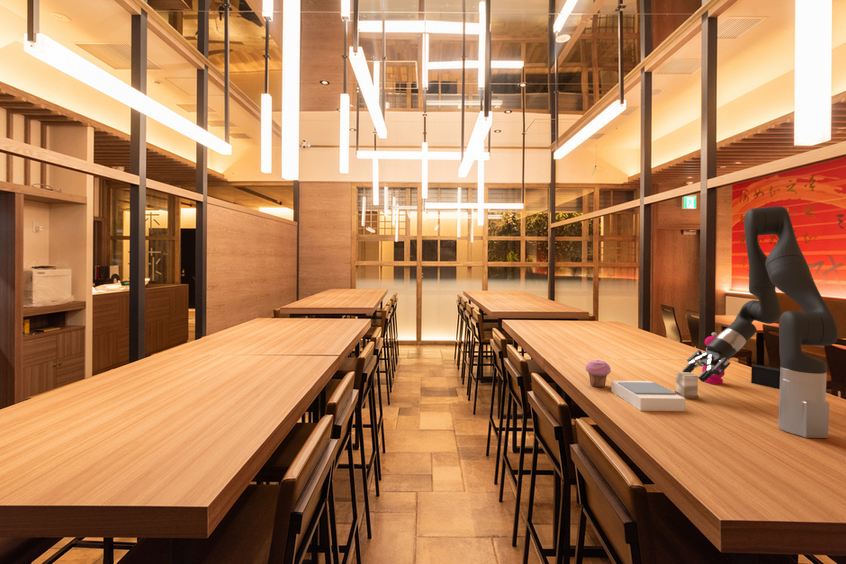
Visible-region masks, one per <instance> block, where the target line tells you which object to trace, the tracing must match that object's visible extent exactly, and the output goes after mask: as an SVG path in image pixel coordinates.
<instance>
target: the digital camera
mask: <svg viewBox="0 0 846 564" xmlns="http://www.w3.org/2000/svg"><path fill="white" fill-rule="evenodd" d="M750 376H751V377H750V379H751V380H750V383H751V384H754V385H757V386H759V385H760V386H762V387H768V388H772V389H776V390H780V368H776V367H772V366H768V365H767V366H766V365H761V364H756V365H751V373H750Z"/></svg>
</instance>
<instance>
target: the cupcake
mask: <svg viewBox="0 0 846 564" xmlns="http://www.w3.org/2000/svg"><path fill="white" fill-rule="evenodd" d="M584 368H585V371H586V373H588V376H589V383H590V384H589V385H591V387H596V388H597V387H598V388H606V383H607V376H608V375H609V374H610V373H611V372H612V370H611V369H612V368H611V366H610V364H609V363H607V362H606V361H605V360H600V359H593V360H590V361H588V362H587V363H586V365H585V367H584Z"/></svg>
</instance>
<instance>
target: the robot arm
mask: <svg viewBox="0 0 846 564" xmlns="http://www.w3.org/2000/svg"><path fill="white" fill-rule="evenodd" d="M745 212H746V213H745V214H744V219H743V228H744V229H743V230H744V231H743V232H744V237H745V246H746V247H745V248H746V254H747V259H748V277H749V278H748V293H750V294H751V295H752V296H755V297H756V298H757V300H756V299H754V300H749V301H747V302H745V303H744V304H743V305H742V306H741V308H740V310H739V311H738V314H737V316H736V317H735V319H734V320H733V322H731V323H730V324H729V325H728V326H727V327H726V328H724V330H723V331H720V333H719V334H717V337H716V338H714V339H713V340H712V341H711V342H710V343H709V344H708V345H707V346H706V348H707V351H706V350H705V351H704V352H703V351H701V349H698V350H696V352H694V353H693V354H692V355H691V356H690V357H688V358H687V359H686V362H687V363H688V364H687V365H686V366H685V367H684V368H683V369H682V372H690V373H692V372H693V371H694V370H695V368H696V369H697V368H698V367H699V368H700V367H701V368H703V366H708V367H707V370H705V371H704V372H702V373H701V374H699V375H698V380H699V381H700V382H702V383H706V382H705V381H706V380H707V379H708V378H709V377H710V376H711V375H715V374H716V375H720V374H721V373H722V372H723V371H724V372H725V370H726V369H727V368H728V367H729V366H730V365H731V362H730V361H729V360H731V358H733V357H734V356H735V355H736V354H737V353H738V352H739V351H740V350H742V348H743V347H744V346H745V344H746V343H747V342H748V341H749V340H750V339H751V338H752V337H754V336H755V334H756V333H757V330H758V329H757V327H756V325H755V324H753V322H754V321H756V322H760V323H763V324H767V325H771V324H772V325H773V324H775V323H777V321H778V320H779V321H778V338H779V339H778V341H779V350H778V351H779V359H780V362H779V363H780V365H779V366H780V367H779V369H780V389H779V394H778V395H779V396H778V399H779V401H778V428H779V429H781V430H782V431H784V432H787V433H790V434H792V435H796V436H800V437H802V438H805V439H807V438H809V439H811V438H812V439H813V438H814V439H815V438H816V439H818V438H819V439H828V438H829V429H830V428H829V427H830V426H829V424H830V402H828V401H826V400H827V397H826V396H827V379H828V378H827V376H828V374H827V373H828V365H827V362H826V361H825V360H823V359H820V358H817V357H813V356H810V355H809V354H807V353H805V352H804V351H803V349H802V346H819V347H820V346H821V347H825V346H826V347H827V346H832V345H834V344H835V343H836V342H837V340H838V337H839V329H838V325H837V321H836V320H835V317H834V316H833V313H832V312H831V310H830V308H829V307H828V305H827V303H826V302H825V300H824V299H823V297H822V295H821V293H820V291H819V289H818V286H817V285H816V282H815V280H814V278H813V276H812V273H811V269H810V266H809V265H808V263H807V260H806V258H805V256H804V254H803V251H802V250H801V248H800V245H799V243H798V240H797V236H796V233H795V230H794V227H793V223H792V219H791V216H790V213H789V211H788V210H787V209H786V208H785V207H784V206H780V205H778V206H777V205H775V206H765V207H754V208H749V209H748V210H747V211H745ZM767 235H768V236H770V235H771V236H772V235H775V236H777V238H778V239H777V242H776V244H775V245H774V247H773V248H772V249H771V251H770V252H769V254H767V255H766V254H765V253H764V251H763V250H762V248H761V245H760V242H759V236H767ZM776 288H777V289H778V290H780V291H781V292H782V293H783V294H785V295H786V296H787V297H788V298H790V299H792V300H793V302H796V303H797V304H798V305H799V307H801V309H802V310H786V311H784V312H783V313H782V307H781V304H780V300H779V296H778V294H777V292H776ZM718 368H720V370H719V371H718V370H717V369H718Z"/></svg>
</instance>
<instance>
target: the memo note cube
mask: <svg viewBox="0 0 846 564" xmlns="http://www.w3.org/2000/svg"><path fill="white" fill-rule="evenodd" d="M675 376H676V377H675V390H674V392H675V393H676V394H677V395H679V396H681V397H683V398H685V399H686V400H692V399H693V400H698V399H699V394H698V392H699V391H698V389H699V388H698V387H699V378H698V377H699V375H696V374H694V373H692V372H691V373H690V372H683V371H682V372H681V371H679V372H677V371H676V372H675Z"/></svg>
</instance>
